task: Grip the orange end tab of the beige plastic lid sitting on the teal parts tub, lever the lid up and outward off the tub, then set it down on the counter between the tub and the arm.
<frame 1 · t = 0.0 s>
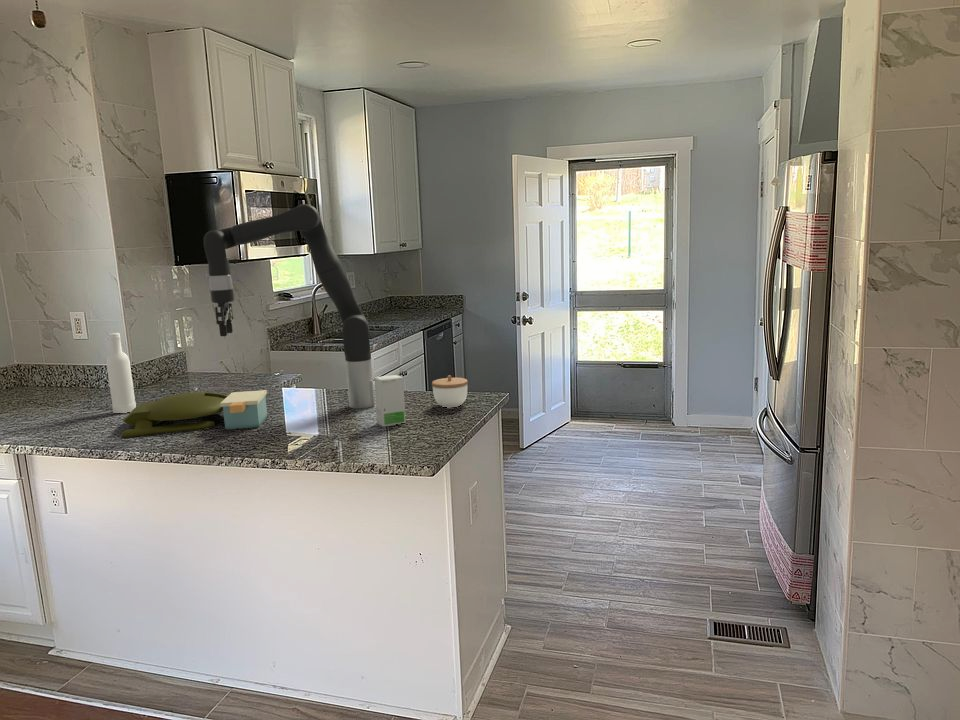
hand: (226, 334, 252), 29 cm above the counter, tool pointing down, fingers open, 8 cm apart
skincare box: (391, 423, 235), on the counter
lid: (244, 399, 244), point 8 cm above the counter, touching tub
spaceship: (183, 423, 252), on the counter
lidded bowl: (451, 406, 255), on the counter
tub: (247, 422, 246), on the counter
bottle: (125, 412, 271), on the counter
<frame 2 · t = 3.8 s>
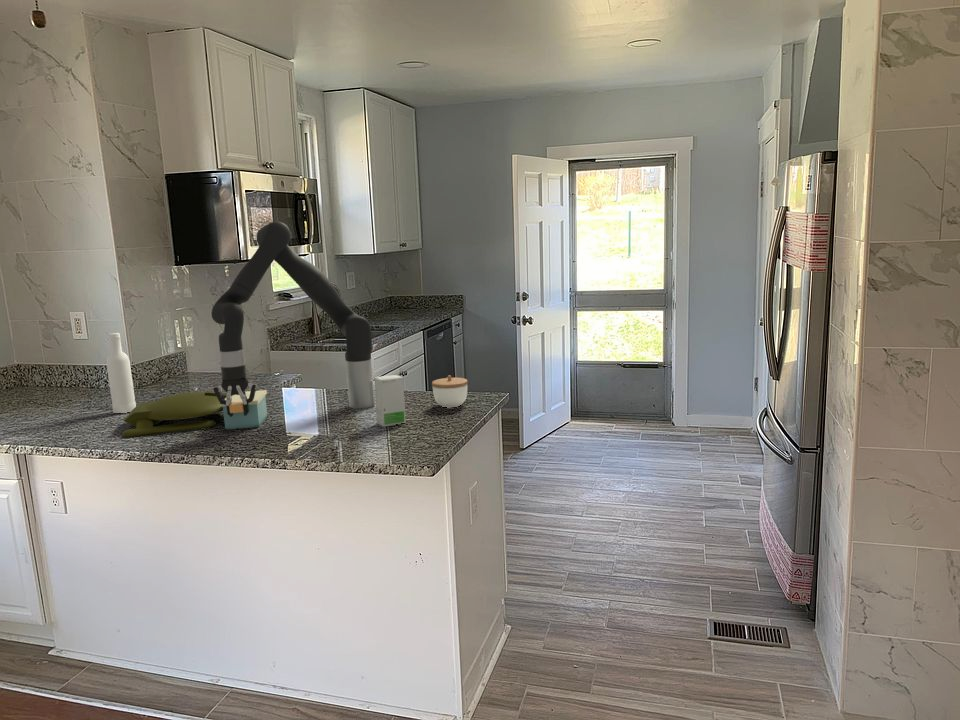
hand: (238, 415, 234), 5 cm above the counter, tool pointing down, fingers closed on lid, 4 cm apart
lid: (244, 399, 244), point 8 cm above the counter, touching gripper, tub
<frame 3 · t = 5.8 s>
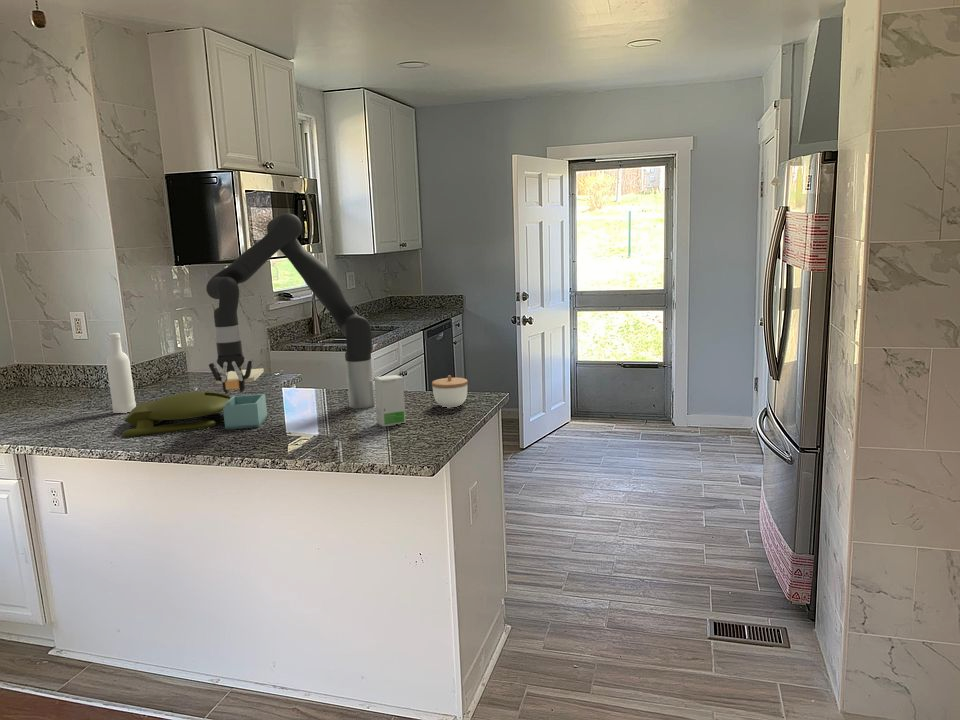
hand: (234, 392, 231), 13 cm above the counter, tool pointing down, fingers closed on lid, 4 cm apart
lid: (240, 377, 241), point 16 cm above the counter, touching gripper
everything else where it was.
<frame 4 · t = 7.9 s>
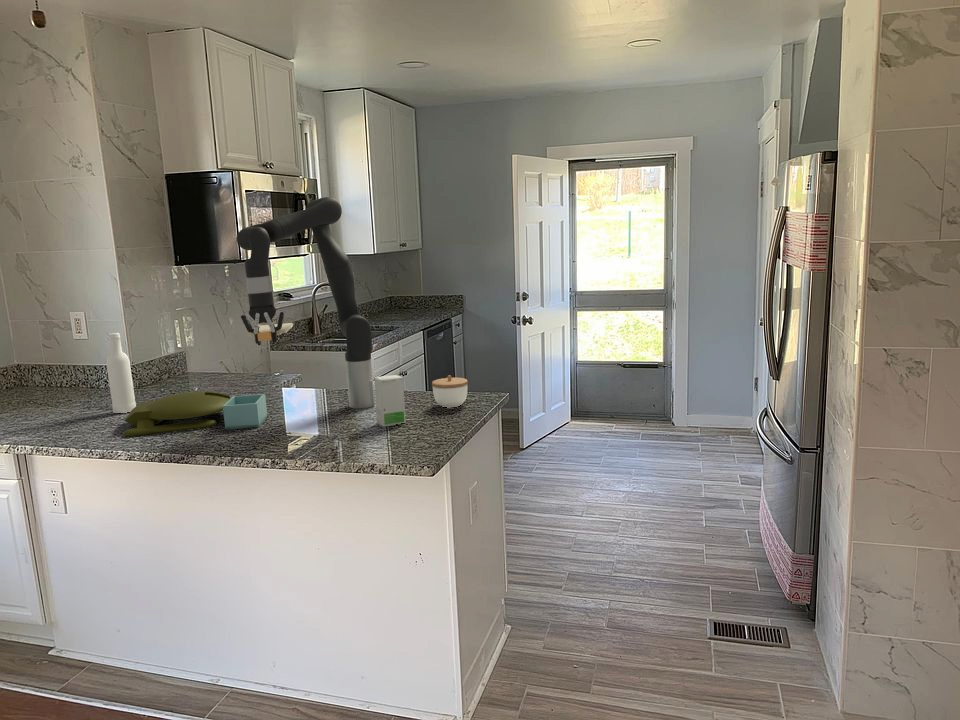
hand: (266, 344, 230), 28 cm above the counter, tool pointing down, fingers closed on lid, 4 cm apart
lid: (271, 331, 240), point 31 cm above the counter, touching gripper
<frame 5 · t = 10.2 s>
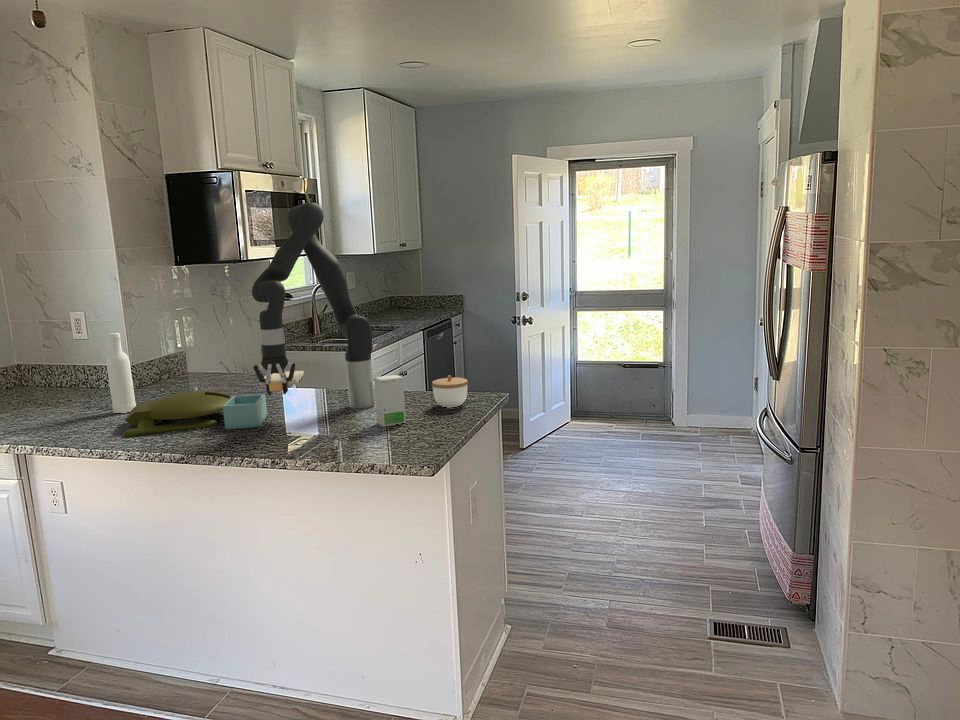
hand: (277, 394, 234), 12 cm above the counter, tool pointing down, fingers closed on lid, 4 cm apart
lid: (282, 379, 244), point 14 cm above the counter, touching gripper
when the fingers open (3 cm above the counter, at t = 12.1 s): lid drops 5 cm, point 1 cm above the counter.
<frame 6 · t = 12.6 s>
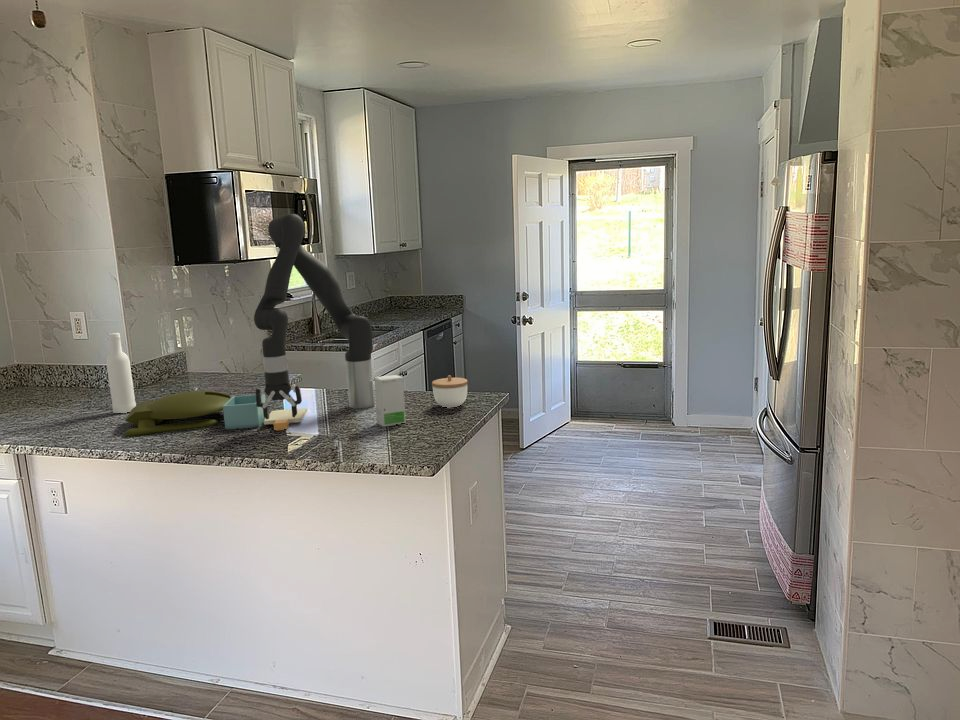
hand: (280, 417, 235), 4 cm above the counter, tool pointing down, fingers open, 8 cm apart
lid: (286, 417, 246), point 1 cm above the counter
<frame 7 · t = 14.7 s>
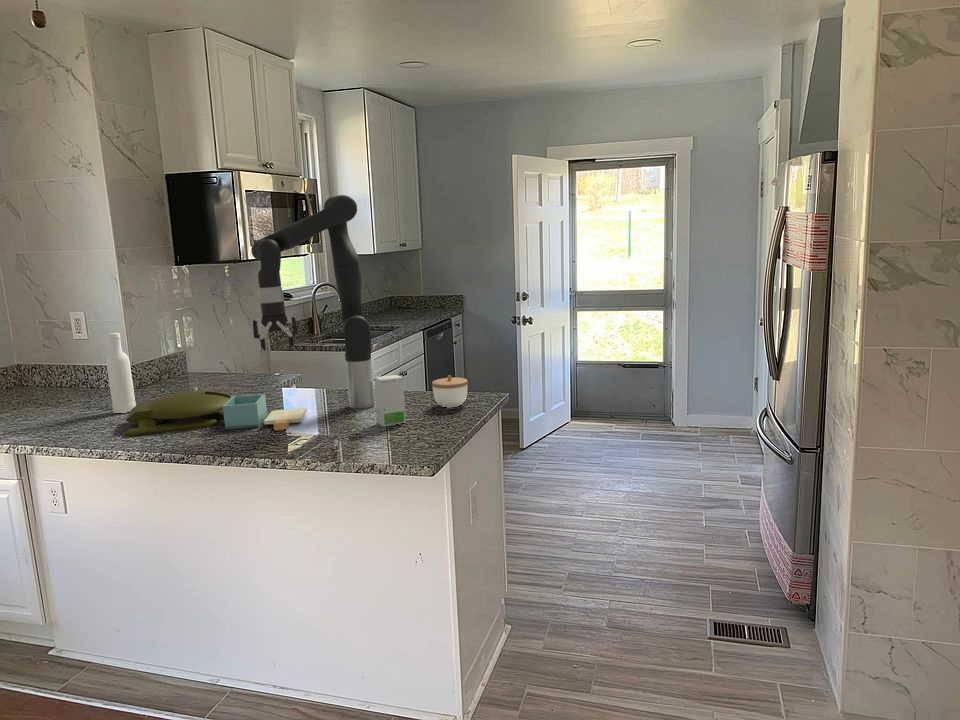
hand: (278, 348, 239), 25 cm above the counter, tool pointing down, fingers open, 8 cm apart
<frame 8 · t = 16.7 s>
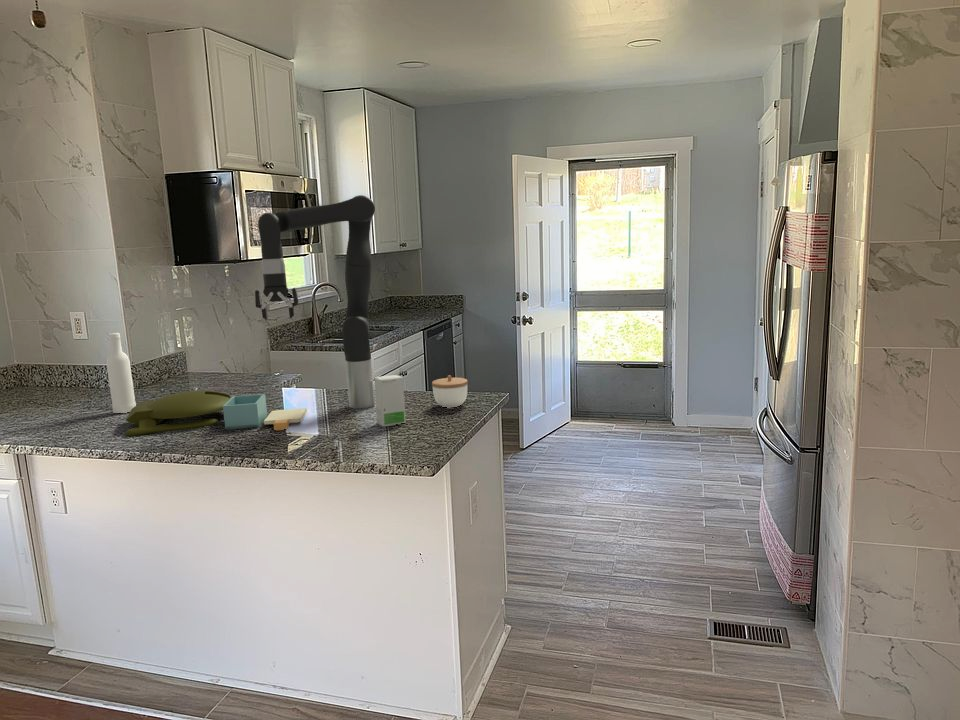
hand: (278, 318, 249), 34 cm above the counter, tool pointing down, fingers open, 8 cm apart
at the end: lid inside the target area (5.1 cm from its centre), point 0.9 cm above the counter; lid touching counter; the gripper is holding nothing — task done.
